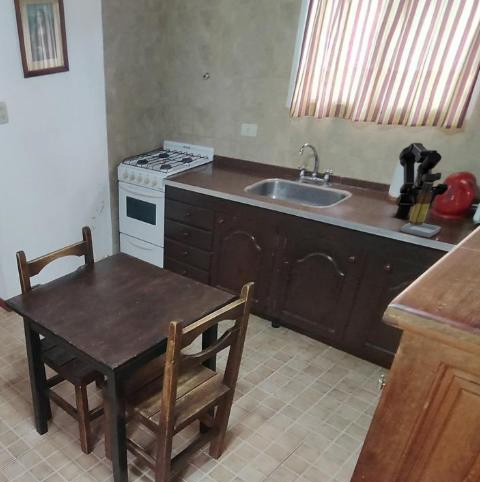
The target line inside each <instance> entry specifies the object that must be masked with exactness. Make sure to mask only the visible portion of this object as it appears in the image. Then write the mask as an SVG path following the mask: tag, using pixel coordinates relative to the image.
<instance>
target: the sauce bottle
mask: <svg viewBox="0 0 480 482" xmlns="http://www.w3.org/2000/svg"><path fill="white" fill-rule="evenodd" d="M434 184H435V181H434V182H431V181H425V182H424V183H423V188H422V190H420V191H419V194H418V195H417V197H416V205H414V206H412V209H411V213H410V215H409V218H408V219H409V220H408V223H410V224H413V225H422V224H423V223H424V222H425V220H426V217H427V213H428V210H429V207H430V206H431V205H430V201H431V198H432V196H431V189H432V186H434ZM429 205H430V206H429Z"/></svg>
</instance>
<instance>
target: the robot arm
mask: <svg viewBox="0 0 480 482" xmlns="http://www.w3.org/2000/svg"><path fill="white" fill-rule="evenodd" d="M398 160H399V164H400V166H402V167H403V184H402V185H401V187H400V188H399V193H400V194H399V195H398V196H397V198H396V200H395V205H396V206H397V208H396V212H395V214H394V216H393V217H394V218H397V219H406V220H408V219H409V218H410V212H411V210H412V209H411V208H412V207H413V206H414V205H416V197H417V195H418V194H419V193H420V191H421V190H422V188H423V183H424V182H425V181H431V182H434V183H435V182H436V181H441V179H442V172H436V173H433V169H435V168H436V166H437V165H438V164H439V163H440V162H441V160H442V155H441V153H439V152H438V150H435V149H433V150H432V149H427V148H426V147H425V146H424V145H423V143H422V142H412V143H410V144H409V145H408V146H407V147H404V148H402V150H401V151H400V153H399V156H398ZM415 164H419V165H418V166H417V168H416V172H417V173H416V179H415ZM415 182H416V184H415ZM448 190H449V184H448V183H438V184H437V185H433V186H432V189H431V196H432V198H431V201H430V205H429V207H430V206H432V204H433V202H434V200H435V198H436V197H437V196H439V195H440V196H442V195H444V194H445V193H446V192H447V191H448Z"/></svg>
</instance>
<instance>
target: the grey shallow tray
mask: <svg viewBox="0 0 480 482" xmlns="http://www.w3.org/2000/svg"><path fill="white" fill-rule="evenodd" d="M441 228H442V227H441V226H438V225H433V224H430V223H429V224H428V223H424V222H423V224H422V225H413V224H410V223H409V222H408V223H406V224H404V225H403V226H401V228H400V232H402V233H407V234H412V235H416V236H419V237H425V238H427V239H428V238H429V239H430V238H431V237H433V236H434V235H436V234H437V233H439V232H440V231H441Z"/></svg>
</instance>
